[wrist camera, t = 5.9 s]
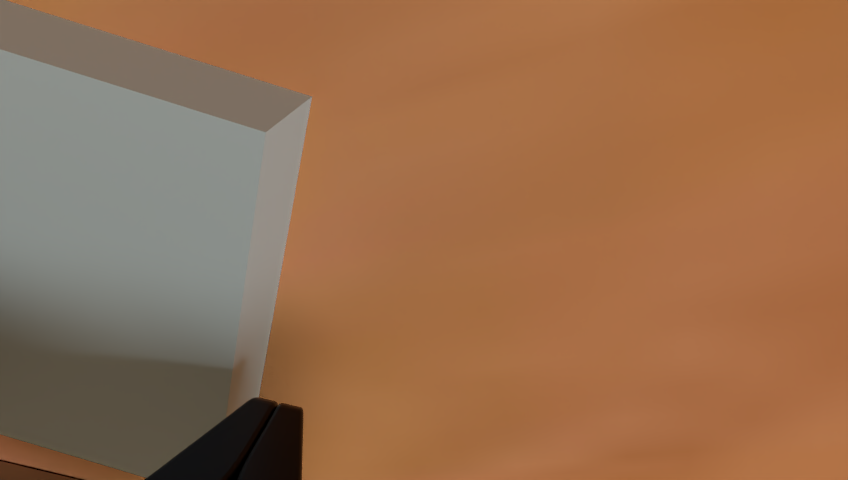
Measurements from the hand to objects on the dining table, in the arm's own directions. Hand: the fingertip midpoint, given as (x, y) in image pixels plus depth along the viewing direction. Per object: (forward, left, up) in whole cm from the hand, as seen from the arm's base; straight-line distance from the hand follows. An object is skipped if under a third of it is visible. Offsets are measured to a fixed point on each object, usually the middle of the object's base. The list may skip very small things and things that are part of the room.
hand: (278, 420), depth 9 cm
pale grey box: (+1, +4, -3) cm, 5 cm away
